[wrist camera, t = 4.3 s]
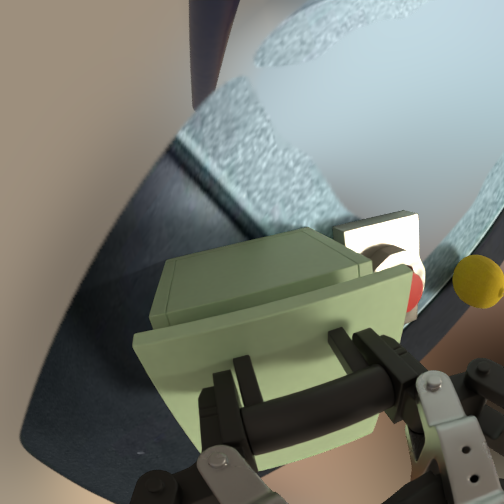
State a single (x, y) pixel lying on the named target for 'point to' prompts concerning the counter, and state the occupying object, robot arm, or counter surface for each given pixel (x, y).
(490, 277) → the lemon
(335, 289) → the lid
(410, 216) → the switch block
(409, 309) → the button
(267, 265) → the green lidded box
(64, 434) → the counter surface
